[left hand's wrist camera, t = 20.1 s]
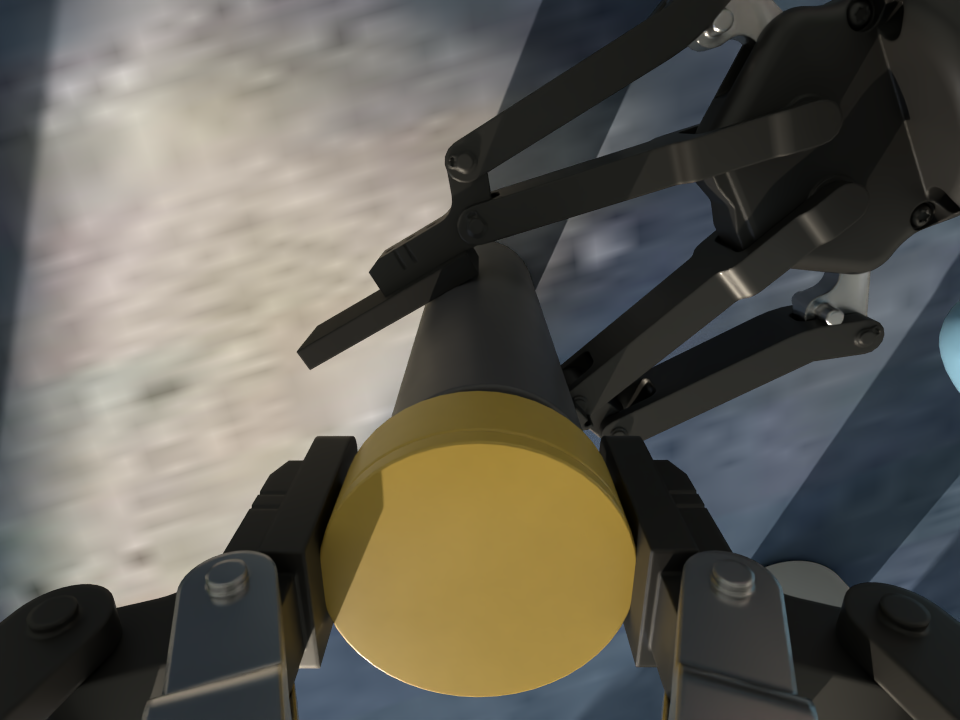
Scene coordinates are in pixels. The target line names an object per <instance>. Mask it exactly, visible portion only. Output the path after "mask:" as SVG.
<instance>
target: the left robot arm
mask: <svg viewBox="0 0 960 720" xmlns="http://www.w3.org/2000/svg"><path fill="white" fill-rule="evenodd" d="M357 452H358V451H357V443H356V439H355V437H354V436H317V437H316V438H315V439H314V441H313V443H312V445H311V447H310V449H309V451H308V453H307V455H306V457H305V459H304V460H303V461H288V462H286V463H285V464H284V465H282V466H281V467H280V468H278V469H277V470H276V471H274V472H273V473H272V474H270V476H269V477H268V479H267V481H266V482H265V484H264V486H263V487H262V489H261V491H260V495H258V496H257V497H256V499H255V501H254V502H253V504H252V509H249V511H248V512H247V514H246V516H245V518H244V519H243V521H242V523H241V524H240V526H239V528H238V529H237V531H236V533H235V534H234V536H233V538H232V539H231V541H230V543H229V544H228V546H227V548H226V549H225V551H224V553H223V554H220V555H218V556H215V557H212V558H210V559H208V560H206V561H204V562H203V563H201V564H199V565H198V566H196V567H195V568H194V569H192V570H191V571H190V572H189V573H188V574H187V575H186V576H185V577H184V579H183V580H182V581H181V583H180V585H179V587H178V590H177V593H174V594H171V595H169V596H165V597H162V598H158V599H154V600H150V601H145V602H141V603H136V604H132V605H128V606H123V607H119V608H116V605H115V601H114V598H113V596H112V593H111V592H110V591H109V590H108V589H106V588H104V587H102V586H98V585H92V584H80V585H72V586H68V587H63V588H60V589H57V590H53V591H51V592H48V593H46V594H43V595H41V596H39V597H37V598H35V599H33V600H31V601H30V602H28V603H26V604H25V605H23V606H22V607H20V608H19V609H17V610H16V611H15V612H13V613H12V614H11V615H10V616H8V617H7V618H6V619H4V620H3V621H2V622H1V623H0V720H299V714H298V703H297V696H296V690H295V683H294V681H295V678H296V675H297V672H298V669H299V668H320V666H321V663H322V659H323V656H324V653H325V649H326V646H327V642H328V639H329V635H330V632H331V629H332V625H333V621H332V619H331V617H330V615H329V613H328V611H327V608H326V602H325V595H324V586H323V578H322V570H321V561H320V547H321V543H322V540H323V537H324V533H325V530H326V527H327V525H328V522H329V519H330V517H331V514H332V512H333V509H334V506H335V504H336V501H337V498H338V496H339V493H340V491H341V488H342V485H343V483H344V480H345V477H346V475H347V472H348V470H349V468H350V465H351V463H352V461H353V459H354V457H355V455H356V454H357ZM599 453H600V454H601V456H602V457H603V460H604V462H605V464H606V466H607V468H608V470H609V473H610V475H611V478H612V481H613V483H614V486H615V489H616V491H617V494H618V497H619V499H620V502H621V505H622V507H623V510H624V513H625V516H626V518H627V521H628V523H629V526H630V529H631V532H632V535H633V539H634V542H635V545H636V564H635V572H634V581H633V589H632V598H631V605H630V609H629V612H628V614H627V616H626V618H625V620H624V622H623V623H624V627H625V630H626V634H627V637H628V641H629V644H630V648H631V651H632V655H633V658H634V662H635V665H636V667H657V669H658V672H659V675H660V678H661V681H662V684H663V687H664V696H663V703H662V714H661V720H960V623H959V622H958V621H957V620H956V619H954V618H953V617H952V616H950V615H949V614H948V613H947V612H945V611H944V610H943V609H941V608H940V607H939V606H937V605H936V604H934V603H933V602H931V601H929V600H928V599H926V598H924V597H922V596H920V595H918V594H916V593H914V592H912V591H909V590H907V589H904V588H901V587H897V586H894V585H889V584H884V583H876V582H867V583H860V584H857V585H854V586H852V587H851V588H849V589H848V590H847V591H846V594H845V596H844V599H843V603H842V606H841V607H837V606H832V605H828V604H824V603H819V602H815V601H810V600H806V599H802V598H797V597H794V596H790V595H787V594H784V593H783V590H782V587H781V585H780V583H779V581H778V580H777V579H776V577H775V576H774V575H773V574H772V573H771V572H770V571H769V570H768V569H766V568H765V567H764V566H762V565H761V564H759V563H757V562H756V561H754V560H752V559H750V558H748V557H745V556H742V555H740V554H736V553H733V552H732V551H731V549H730V547H729V545H728V544H727V542H726V540H725V539H724V537H723V535H722V534H721V532H720V530H719V529H718V527H717V525H716V523H715V522H714V520H713V518H712V517H711V515H710V513H709V512H708V510H707V508H705V507H704V503H703V501H702V500H701V498H700V496H699V495H698V494H696V489H695V488H694V486H693V484H692V483H691V481H690V479H689V478H688V476H687V474H686V473H684V472H683V471H682V470H680V469H679V468H678V467H676V466H675V465H674V464H672V463H671V462H670V461H668V460H653V459H652V457H651V455H650V453H649V451H648V449H647V447H646V445H645V443H644V441H643V439H642V438H641V437H640V436H603V437H602V439H601V442H600V451H599Z"/></svg>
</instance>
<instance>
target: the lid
mask: <svg viewBox="0 0 960 720" xmlns="http://www.w3.org/2000/svg"><path fill="white" fill-rule="evenodd" d="M320 561H321V570H322V578H323V586H324V595H325V602H326V608H327V611H328V613H329V615H330V617H331V619H332V621H333V622H334V624H335V626H336V628H337V629H338V631H339V632H340V633H341V635H342V636H343V637H344V639H345V640H346V641H347V642H348V643H349V644H350V645H351V646H352V647H353V648H354V649H355V650H356V651H357V652H358V654H360V655H361V656H362V657H363V658H365V659H366V660H367V661H368V662H370V663H371V664H372V665H373V666H375V667H377V668H378V669H380V670H382V671H383V672H385V673H386V674H388V675H390V676H392V677H394V678H396V679H398V680H401V681H403V682H405V683H407V684H410V685H413V686H416V687H419V688H422V689H425V690H429V691H433V692H437V693H442V694H449V695H456V696H470V697H487V696H501V695H508V694H515V693H519V692H523V691H527V690H531V689H535V688H538V687H541V686H544V685H546V684H549V683H552V682H554V681H556V680H558V679H560V678H562V677H564V676H567V675H569V674H570V673H572V672H573V671H575V670H577V669H578V668H580V667H581V666H583V665H584V664H586V663H587V662H588V661H589V660H591V659H592V658H593V657H595V656H596V655H597V654H598V653H599V652H600V651H601V650H602V649H603V648H604V647H605V646H606V645H607V644H608V643H609V642H610V641H611V639H612V638H613V637H614V635H615V634H616V633H617V631H618V630H619V629H620V627H621V625H622V623H623V622H624V620H625V618H626V616H627V614H628V612H629V609H630V605H631V598H632V589H633V581H634V572H635V564H636V545H635V542H634V539H633V535H632V532H631V529H630V526H629V523H628V521H627V518H626V516H625V513H624V510H623V507H622V505H621V502H620V499H619V497H618V494H617V491H616V489H615V486H614V483H613V481H612V478H611V475H610V473H609V470H608V468H607V466H606V464H605V462H604V460H603V457H602V456H601V454H600V453H599V451H598V450H597V448H596V447H595V445H594V444H593V442H592V441H591V440H590V439H589V438H588V437H587V436H586V435H585V434H584V433H583V431H582V430H581V429H579V428H578V427H577V426H576V425H575V424H573V423H572V422H571V421H570V420H569V419H567V418H566V417H564V416H562V415H561V414H559V413H558V412H556V411H554V410H553V409H551V408H549V407H547V406H544V405H542V404H540V403H538V402H536V401H533V400H529V399H526V398H523V397H520V396H517V395H511V394H506V393H500V392H489V391H468V392H457V393H451V394H446V395H440V396H437V397H434V398H431V399H427V400H424V401H421V402H419V403H417V404H415V405H412V406H410V407H408V408H406V409H404V410H402V411H401V412H399V413H398V414H396V415H394V416H393V417H391V418H389V419H388V420H387V421H386V422H385V423H383V424H382V425H381V426H380V427H379V428H377V429H376V430H375V431H374V432H373V433H372V434H371V436H370V437H369V438H368V439H367V440H366V441H365V442H364V444H363V445H362V446H361V448H360V449H359V451H358V452H357V454H356V455H355V457H354V459H353V461H352V463H351V465H350V468H349V470H348V472H347V475H346V477H345V480H344V483H343V485H342V488H341V491H340V493H339V496H338V498H337V501H336V504H335V506H334V509H333V512H332V514H331V517H330V519H329V522H328V525H327V527H326V530H325V533H324V537H323V540H322V543H321V547H320Z"/></svg>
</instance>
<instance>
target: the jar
mask: <svg viewBox="0 0 960 720" xmlns="http://www.w3.org/2000/svg"><path fill="white" fill-rule="evenodd" d="M474 249H475V251H476V252H477V254H478V256H479V274H478V275H476V276H475V277H473V278H471V279H469V280H468V281H466V282H464V283H462V284H461V285H459V286H457V287H455V288H453V289H452V290H450V291H448V292H446V293H445V294H443V295H441V296H439V297H438V298H436V299H434V300H432V301H431V302H429V303H427V304H425V308H424V311H423V314H422V318H421V321H420V324H419V328H418V331H417V334H416V337H415V341H414V344H413V347H412V351H411V354H410V357H409V361H408V364H407V367H406V371H405V374H404V377H403V381H402V384H401V387H400V391H399V394H398V397H397V400H396V404H395V407H394V410H393V414H392V417H393V416H394V415H396V414H398V413H399V412H401V411H402V410H404V409H406V408H408V407H410V406H412V405H415V404H417V403H419V402H421V401H424V400H427V399H431V398H434V397H437V396H440V395H446V394H451V393H457V392H468V391H489V392H500V393H506V394H511V395H517V396H520V397H523V398H526V399H529V400H533V401H536V402H538V403H540V404H542V405H544V406H547V407H549V408H551V409H553V410H554V411H556V412H558V413H559V414H561V415H562V416H564V417H566V418H567V419H569V420H570V421H571V422H572V423H573V424H575V425H576V426H577V427H578V428H579V429H581V430H582V427H581V424H580V421H579V418H578V415H577V412H576V409H575V407H574V404H573V401H572V398H571V395H570V392H569V389H568V386H567V383H566V380H565V377H564V374H563V371H562V368H561V365H560V362H559V359H558V356H557V353H556V350H555V348H554V345H553V342H552V339H551V336H550V333H549V330H548V327H547V324H546V321H545V318H544V315H543V312H542V309H541V306H540V303H539V300H538V297H537V294H536V291H535V289H534V286H533V283H532V280H531V277H530V274H529V271H528V269H527V267H526V265H525V263H524V262H523V261H522V259H521V258H520V257H519V256H518V255H517V254H516V253H515V252H514V251H512V250H511V249H510V248H508V247H506V246H504V245H502V244H500V243H496V242H490V243H487V244H483V245H477V246H475V247H474ZM582 431H583V430H582Z"/></svg>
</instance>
